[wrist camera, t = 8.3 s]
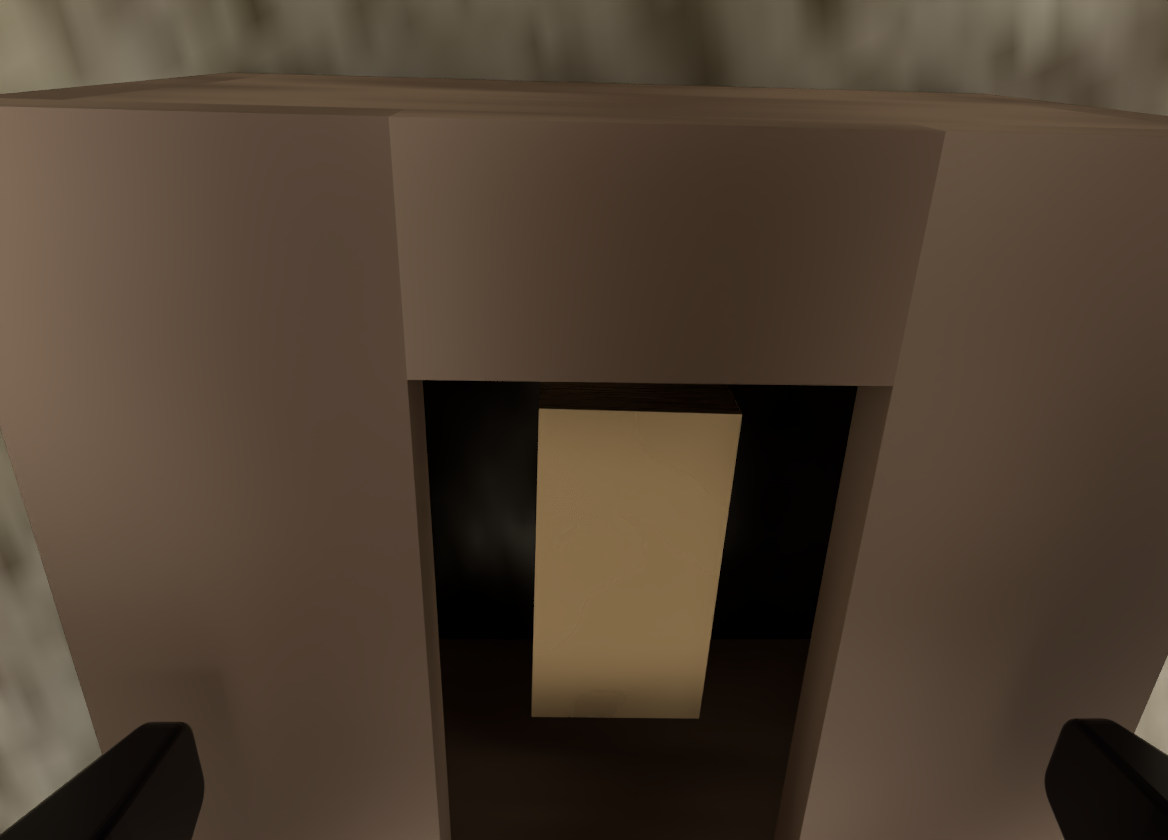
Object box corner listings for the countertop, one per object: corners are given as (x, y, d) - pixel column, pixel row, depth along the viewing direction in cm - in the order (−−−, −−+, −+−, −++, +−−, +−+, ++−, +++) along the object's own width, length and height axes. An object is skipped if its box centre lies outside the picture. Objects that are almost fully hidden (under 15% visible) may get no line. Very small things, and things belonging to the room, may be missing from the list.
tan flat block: (537, 531, 16) (531, 716, 12) (544, 292, 14) (539, 409, 10) (659, 533, 17) (699, 718, 12) (683, 298, 14) (742, 414, 10)
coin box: (317, 667, 18) (184, 1018, 11) (231, 72, 13) (-101, 103, 6) (856, 667, 18) (1017, 1003, 12) (983, 93, 13) (1387, 142, 7)
